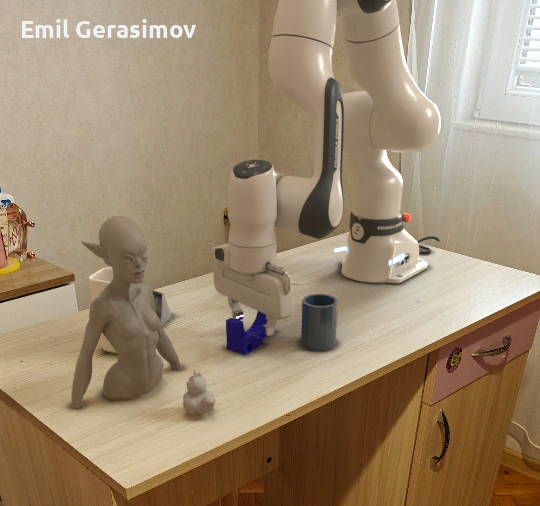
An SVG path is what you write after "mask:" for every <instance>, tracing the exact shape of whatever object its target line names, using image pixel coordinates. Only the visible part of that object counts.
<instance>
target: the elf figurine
mask: <svg viewBox="0 0 540 506" xmlns="http://www.w3.org/2000/svg"><path fill="white" fill-rule="evenodd" d="M98 242H99V244H98V243H92V242H91V243H90V242H85V241H82V240H81V241H80V243H81V244H82V245H83V246H84V247H86V249H88V250H89V251H91V253H93V254H94V255H95V256H96V257H98V258H100V259H102V260H103V261H104V263H105V265H107V267H112V269H113V280H112V281H111V282H110V283H109V284H108V285H107V286H106V288H105V289H104V290H103V291H102V292H101V293H100V294H99V297H98V298H96V299H95V300H94V301H93V302H92V301H91V303H90V306H89V311H88V321H87V323H86V326H85V331H84V336H83V340H82V344H81V347H80V350H79V353H78V354H79V355H78V358H77V361H76V363H75V369H74V374H73V381H72V387H71V394H70V395H71V398H70V399H71V400H70V401H71V402H70V403H71V408H73V409H79V408H81V406H82V402H83V399H84V396H85V394H86V392H87V391H88V388H89V385H90V384H91V381H92V376H93V358H94V354H95V351H96V349H97V346H98V344H99V342H100V340H101V339H100V336H101V334H102V333H103V334H104V336H105V337H106V338H107V340H108V341H109V343H110V344H111V345H112V347H113V348H114V350H115V351H116V352H117V353H118V354H117V361H115V363H113V364H112V365H111V366H110V367H109V369H108V370H107V371H106V373H105V375H104V378H103V383H102V391H103V395H104V396H105V398H107V399H108V400H112V401H123V400H124V401H125V400H132V399H137V398H140V397H142V396H145V395H147V394H151V392H153V391H154V390H155V389H156V388H157V387H158V386H159V385H160V383H161V381H162V378H163V372H164V361H163V359H164V360H165V362H167V364H169V366H170V367H171V369H172V370H174V371H180V370H181V369H182V367H181V361H180V358H179V356H178V354H177V352H176V350H175V347H174V345H173V343H172V341H171V339H170V337H169V335H168V333H167V332H166V331H165V329H164V328H163V326H161V325H160V322H159V318H158V316H157V314H156V312H155V308H154V296H153V292H152V290H153V289H152V288H151V286H150V285H148V284H145V283H144V284H143V282H144V280H145V279H144V278H145V271H146V266H147V264H148V242H147V239H146V236H145V234H144V232H143V231H142V229H141V227H140V226H139V225H138V224H137V223H136V221H134V220H132V219H131V218H129V217H126V216H123V215H115V216H111V217H109V218H107V219H106V220H105V221H104V222H103V223H102V224H101V225H100V228H99V230H98ZM157 352H158V353H157ZM158 354H159V355H158ZM160 356H161V357H160Z"/></svg>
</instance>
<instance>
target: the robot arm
mask: <svg viewBox="0 0 540 506" xmlns="http://www.w3.org/2000/svg"><path fill="white" fill-rule="evenodd" d="M338 17H340V20H341V29H342V36H343V42H344V48H345V53H346V59H347V66H348V72H349V75H350V76H351V79H352V80H353V81H354V82H355V84H357V85H358V86H359V87H361V88H362V89H363V90H357V91H351V92H345V93H343V88H342V85H341V83H340V82H339V81H337V80H336V78H335V76H334V71H333V53H334V45H335V40H336V29H337V21H338V20H337V18H338ZM267 65H268V73H269V77H270V79H271V81H272V84H273V85H274V87H275V89H276V90H277V91H278V92H279V94H281V95H282V96H283V97H284V98H286V99H287V100H289V101H290V102H292V103H294V104H295V105H297V106H298V107H300V108H301V109H303V110H304V111H305V112H307V114H309V115H310V117H311V119H312V121H313V123H314V128H315V146H314V173H313V176H312V177H303V176H297V175H290V174H287V173H282V172H279V171H277V170H275V168H274V164H272V163H271V162H270V161H268V160H264V159H256V158H255V159H249V160H243V161H241V162H239V163H237V164H235V165H234V166H233V167H232V168H231V171H230V175H229V181H228V190H227V219H228V221H229V227H230V229H229V234H228V243H223V244H220V245H217V246H214V247H212V248H211V249H212V250H211V254H212V258H213V259H214V260H213V264H212V274H213V275H212V277H213V278H212V279H213V286H214V288H215V291H216V292H217V293H218V294H220V295H222V296H225V297H227V303H228V305H229V307H230V310H231V318H233V319H237V320H240V321H243V319H244V310H242V309H241V304H242V305H244V306H247V307H249V308H251V309H253V310H255V311H260V312H262V313H264V314H266V319H267V320H268V321H267V324H266V325H263V333H264V334H266V335H268V336H267V337H269V336H273V335H274V334H275V332H274V326H275V327H276V325H277V323H278V322H279V321H282V320H284V319H285V320H286V319H287V318H290V317H291V316H292V315H293V314H294V312H295V304H294V303H295V302H294V301H295V300H294V289H293V285H292V284H293V283H292V280H291V276H289V273H288V272H287V270H286V269H285V268H284V267H281V266H278V265H277V242H278V241H277V235H276V230H275V229H278V230H282V231H286V232H291V233H297V234H301V235H304V236H307V237H310V238H314V239H317V240H321V239H323V238H326V237H327V236H329V235H330V234H332V233H333V232H334V231H335V230H336V229H337V228H338V227H339V226H340V225H341V223H342V220H343V217H344V206H345V204H344V203H345V202H344V190H343V188H344V187H343V160H344V159H343V158H344V152H345V154H346V155H347V158H348V160H349V161H348V162H349V165H350V168H351V172H352V173H351V174H352V183H353V184H352V209H351V211H350V214H349V219H348V220H349V223H348V228H349V232H348V233H347V240H346V245H345V246H342V247H338V248H334V249H333V252H334V253H338V252H342V251H344V258H343V259H341V266H342V267H341V270H340V272H341V274H342V275H343V276H345V277H346V278H348V279H351V280H354V281H358V282H363V283H389V284H401V283H403V282H405V281H406V280H408V279H410V278H412V277H414V276H416V275H417V274H419V273H421V272H422V271H425V270H426V269H428V266H429V265H428V263H427V262H426V261H425V260H423V259H422V258H420V255H428V254H430V253H431V252H432V249H431V248H430V247H427V246H425V245H421V244H420V243H422V242H424V241H427V240H435V241H436V242H441V240H440V238H439V237H437V236H434V235H430V236H425V237H421V238H420V239H418V240H416V239H415V238H414V237H413V236H412V235H410V233H408V231H407V230H406V229H405V228H404V223H407V224H409V223H410V222H411V221H412V217H413V216H412V214H411V213H406V212H402V213H401V207H402V206H401V205H402V196H403V185H404V182H403V178H402V175H401V174H400V172H399V171H398V170H397V169H396V167H393V165H392V164H391V162H390V161H389V158H388V155H387V152H392V153H399V154H414V153H415V154H416V153H424V152H426V151H428V150H429V149H430V148H431V147H432V146H433V145H434V143H436V140H437V138H438V137H439V135H440V134H439V133H440V130H441V116H440V111H439V109H438V107H437V105H436V104H435V103H433V102H432V101H431V100H430V98H429V99H428V98H427V96H425V94H424V93H423V92H422V91H421V90H420V88H419V87H418V85H417V83H416V82H415V80H414V79H413V77H412V74H411V73H410V69H409V68H408V65H407V62H406V58H405V54H404V47H403V42H402V34H401V24H400V16H399V9H398V2H397V0H278V3H277V8H276V12H275V17H274V19H273V27H272V31H271V37H270V45H269V51H268V63H267ZM403 222H404V223H403ZM420 249H421V251H420ZM422 250H424V251H422Z"/></svg>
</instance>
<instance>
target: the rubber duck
mask: <svg viewBox="0 0 540 506" xmlns="http://www.w3.org/2000/svg"><path fill="white" fill-rule="evenodd" d="M185 385H186V390H187V391H186V392H185V393H184V394H183V396H182V406H183V409H184V410H185V412H187V413H189V414H191V415H193V416H200V415H203V414H205V413H209V414H211V413H213V412H215V403H216V401H217V400H216V398H215V396H214V395H215V394H214V393H213V392H212V391H210V390H208V387H207V386H208V385H207V380H206V378H205V377H204V376H203V374H202V373H201V372H200V371H199V372H198V373H197V372H196V370H195V368H193V375H191V376H189V377H188V381H187V382H186V384H185Z"/></svg>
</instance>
